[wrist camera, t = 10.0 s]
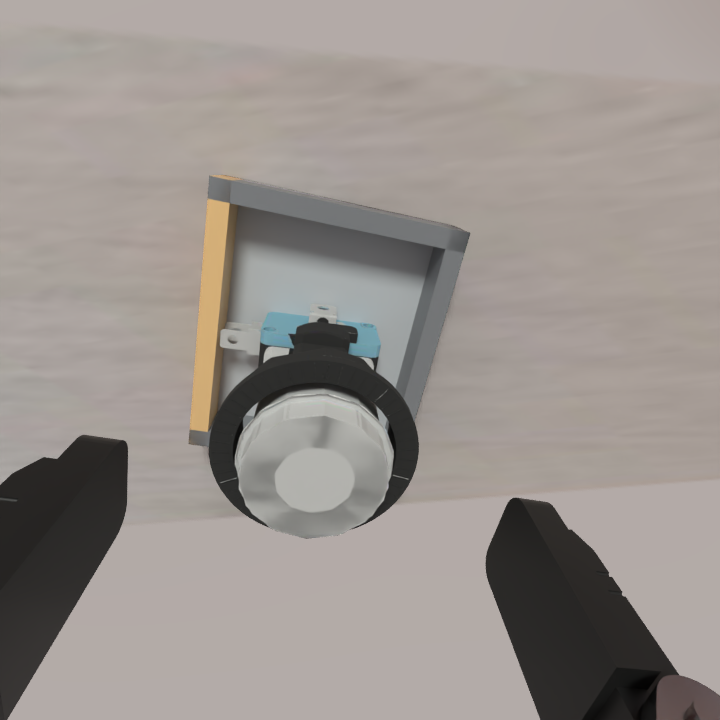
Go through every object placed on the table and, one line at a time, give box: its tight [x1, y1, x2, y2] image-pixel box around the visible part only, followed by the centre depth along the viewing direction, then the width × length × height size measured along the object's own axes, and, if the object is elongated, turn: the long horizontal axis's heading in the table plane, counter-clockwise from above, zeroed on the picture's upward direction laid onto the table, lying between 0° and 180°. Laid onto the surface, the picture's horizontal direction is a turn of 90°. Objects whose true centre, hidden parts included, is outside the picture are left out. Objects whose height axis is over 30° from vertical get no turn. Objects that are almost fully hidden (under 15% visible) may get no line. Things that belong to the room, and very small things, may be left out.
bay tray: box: [189, 175, 470, 447], centre depth 19 cm, size 10×11×2 cm
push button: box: [209, 303, 419, 539], centre depth 15 cm, size 7×5×10 cm
